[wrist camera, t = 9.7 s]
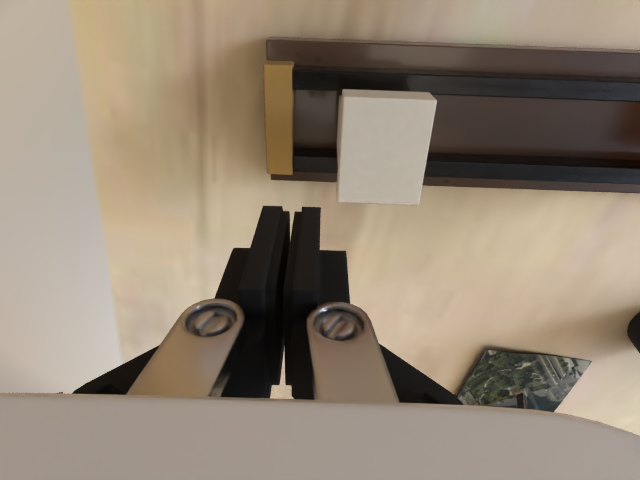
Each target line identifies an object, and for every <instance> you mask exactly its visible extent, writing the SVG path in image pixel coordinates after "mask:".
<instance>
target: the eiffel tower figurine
mask: <svg viewBox="0 0 640 480" xmlns="http://www.w3.org/2000/svg"><path fill="white" fill-rule="evenodd" d="M591 362H592V361H587V360H579V359H572V358H564V357H557V356H549V355H535V354H516V353H507V352H499V351H492V350H486V351H485V353H484V354H483V356H482V358H481V360H480V361H479V363H478V364H477V366H476V367H475V369H474V370H473V372H472V373H471V375H470V376H469V378H468V379H467V381H466V382H465V384H464V386H463V387H462V389H461V391H460V393H459V394H458V396H457V398H458V399H459V400H460V401H462V403H463V404H464V405H476V404H480V405H485V406H490V407H505V408H519V409H534V410H541V411H548V412H554V411H555V410H556V408H557V407H558V406H559V405H560V403H561V402H562V401H563V399H564V398H565V397H566V395H567V394H568V393H569V391H570V390H571V389H572V387H573V386H574V385H575V383H576V382H577V381H578V379H579V378H580V377H581V375H582V374H583V373H584V371H585V370H586V369H587V367H588V366H589V365H590V363H591Z"/></svg>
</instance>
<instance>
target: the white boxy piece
mask: <svg viewBox="0 0 640 480" xmlns="http://www.w3.org/2000/svg"><path fill="white" fill-rule="evenodd" d="M436 104H437V100H436V99H435V98H434V97H433V96H432V95H431V94H430V93H429V92H408V91H381V90H353V89H343V90H342V95H340V96H339V107H338V126H337V162H338V173H337V202H345V203H372V204H400V205H419V201H420V195H421V190H422V184H423V178H424V172H425V167H426V161H427V155H428V150H429V144H430V138H431V132H432V127H433V121H434V115H435V109H436Z"/></svg>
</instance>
